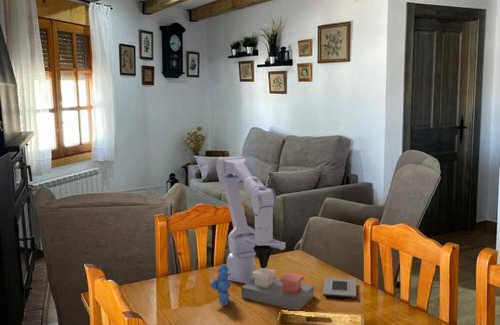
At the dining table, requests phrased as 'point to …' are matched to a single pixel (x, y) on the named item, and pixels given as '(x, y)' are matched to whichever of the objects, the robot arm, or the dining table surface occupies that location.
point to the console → (278, 294)
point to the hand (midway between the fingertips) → (263, 267)
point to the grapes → (222, 284)
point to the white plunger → (263, 277)
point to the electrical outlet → (339, 287)
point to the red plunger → (291, 282)
